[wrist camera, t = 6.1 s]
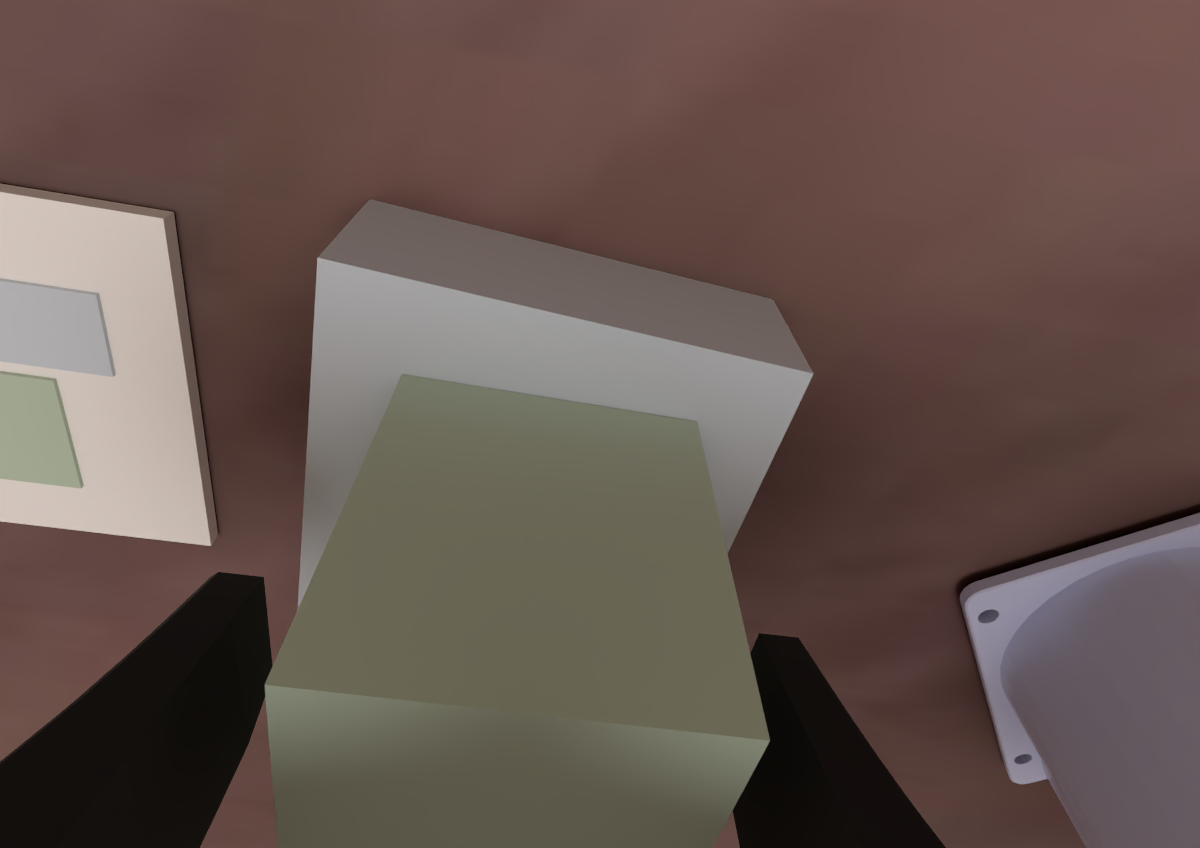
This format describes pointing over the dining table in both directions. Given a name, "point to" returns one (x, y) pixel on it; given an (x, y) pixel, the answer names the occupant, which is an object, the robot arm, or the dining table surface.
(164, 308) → the card
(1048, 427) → the dining table surface
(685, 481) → the sage block
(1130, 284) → the dining table surface
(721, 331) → the slate base
